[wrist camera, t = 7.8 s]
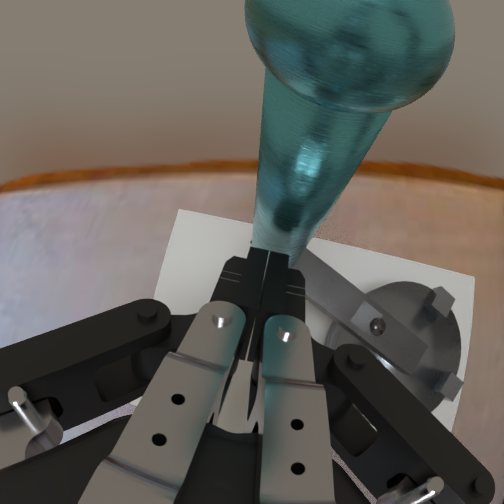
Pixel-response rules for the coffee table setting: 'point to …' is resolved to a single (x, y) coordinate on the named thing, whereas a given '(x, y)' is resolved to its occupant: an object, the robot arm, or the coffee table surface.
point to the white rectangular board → (336, 256)
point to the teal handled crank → (349, 162)
